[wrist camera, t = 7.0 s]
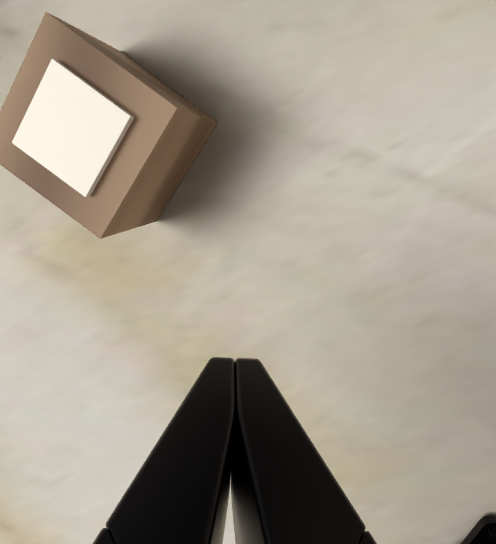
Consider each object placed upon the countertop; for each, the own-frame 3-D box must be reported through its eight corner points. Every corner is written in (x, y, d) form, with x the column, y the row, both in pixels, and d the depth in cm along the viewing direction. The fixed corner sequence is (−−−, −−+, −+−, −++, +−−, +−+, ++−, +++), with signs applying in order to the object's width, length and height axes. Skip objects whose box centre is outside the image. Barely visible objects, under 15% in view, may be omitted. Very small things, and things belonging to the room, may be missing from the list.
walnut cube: (218, 122, 18) (173, 106, 13) (156, 221, 20) (95, 239, 15) (121, 51, 18) (39, 8, 13) (66, 154, 20) (-25, 150, 15)
